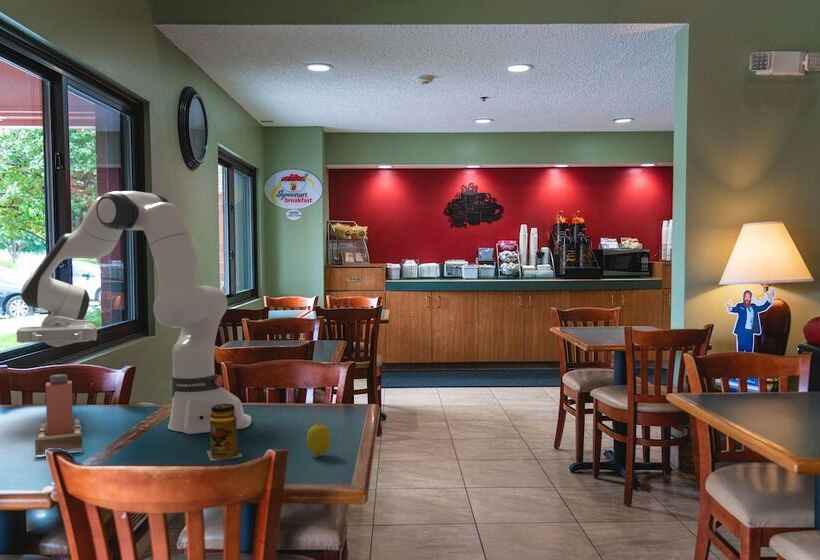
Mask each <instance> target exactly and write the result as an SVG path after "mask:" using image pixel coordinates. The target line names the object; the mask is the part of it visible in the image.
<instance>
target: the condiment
mask: <svg viewBox="0 0 820 560" xmlns="http://www.w3.org/2000/svg"><path fill="white" fill-rule="evenodd" d="M211 410H212V414H211V415H212V417H211V419H210V432H209V434H210V435H209V436H210V450H207V451H206V454H207V455H208V458H209V460H210V461H211V462H212V461H222V460H229V459H235V458H241V457H243V455H242V454H241V452H240V450H239V447H238V434H237V433H238V432H237V431H238V429H237V425H236V424H237V423H236V416H235V415H234V413H235V411H234V405H232V404H219V405H215V406H213V407H212V409H211Z"/></svg>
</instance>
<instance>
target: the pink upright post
mask: <svg viewBox="0 0 820 560" xmlns="http://www.w3.org/2000/svg"><path fill="white" fill-rule="evenodd" d="M49 381H50V382H45V399H46V400H45V406H46V412H45V413H46V424H47V436H50V435H58V434H67V433H73V426H74V416H73V414H74V412H73V381H72V380H68V374H64V373H63V374H62V373H61V374H59V373H58V374H53V375H50V376H49Z"/></svg>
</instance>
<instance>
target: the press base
mask: <svg viewBox="0 0 820 560" xmlns="http://www.w3.org/2000/svg"><path fill="white" fill-rule="evenodd" d="M80 420H81V419H80V418H74V425H73V433H67V434H58V435H50V436H47V421H43V422H42V421H41V422H40V427H39V428H40V429H39V431H38V432H39V433H38V437H35V439H34V445H35V447H34V449H35V456H36V455H43V454H44V455H45V450H46V449H48V448H61V449H64V450H66V451H82V452H83V432H82V425H81V424H80Z"/></svg>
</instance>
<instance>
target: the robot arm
mask: <svg viewBox="0 0 820 560" xmlns="http://www.w3.org/2000/svg"><path fill="white" fill-rule="evenodd" d="M124 230H126V231H127V230H128V231H131V230H132V231H143V233H144V234H145V237H146V239H147V240H146V241H147V242H148V246H149V248H150V252H151V254H152V258H153V261H154V264H155V265H154V266H155V268H156V271H157V276H158V294H157V296H156V298H155V300H153V301H154V302H153V306H152V311H153V316H154V318H155V319H156V321H157V322H158V323H159V324H160V325H162V326H163V327H168V328H174V329H181V330H180V333H179V337H178V339H177V341H176V342H175V343H174V345H173V346H172V353H171V354H172V356H171V357H172V359H171V360H172V376H171V378H170V379H171V380H170V392H171V393H170V394H171V398H172V400H171V401H172V402H171V403H172V404H171V410H170V417H169V422H168V426H167V429H168V430H171V431H174V432H181V433H184V434H187V435H193V434H202V433H210V419H211V417H212V415H211V414H212V410H211V409H212V407H213V406H215V405H219V404H232V405H234V411H235V413H234V415H235V416H236V423H237V424H236V425H237V430H242V429H246V428H248V427H249V426H250V425H251V424H252V416H250V415H249V414H246V413H244V409H243V404H242V401H241V400H240V398H239V397H237V396H236V395H234V394H233V393H232V392H230V391H228V390H227V389H225V388H224V387H223V382H224V381H223V377H222V376H221V375H220V374H219V375H218V374H217V373H215V345H216V338H217V334H218V330H219V326H220V322H221V320H222V318H223V316H224V315H225V313H226V312H227V309H228V304H229V303H228V298H227V296H226V294H225V293H224V292H223V290H222V289H220V288H218V287H214V286H211V285H207V284H205V285H204V284H202V285H196V279H195V277H196V276H195V270H196V267H197V266H198V256H197V253H196V250H195V248H194V244H193V242H192V239H191V236H190V233H189V231H188V230H189V229H188V228H187V225H186V223H185V222H184V219H183V217H182V215H181V212H179V210H178V208H177V206H175V204H173V203H171V202H170V201H169V199H168V198H166V197H165V196H164V195H161V194H158V193H155V192H143V191H136V190H122V191H119V190H117V191H116V190H114V191H110V192H106V193H104V194H102V195H101V196H98V197H97V198H96V199H95V200H94V201H93V202H92V204H91V205H90V207H89V208H88V210H87V212H86V214H85V216H84V217H83V219H82V221H81V223H80V226H78V228H77V229H75V230H74V231H73V232H70V233H64V234H63V235H61V236H60V237H59V239H58V240H57V241H56V242H55V243H54V244H53V246H52V247H51V249H50V250H49V252H48V253H47V255H46V256H45V257H44V259H43V260H42V261H41V263H40V264H39V266H38V267H37V268H36V269H35V271H34V272H33V273H32V275H30V276H29V278H28V279H27V280H26V281H25V282H24V284H23V286H22V288H21V292H20V297H21V299H22V301H23V303H24V304H25V305H26V306H27V307H31V308H36V309H40V310H43V311H46V312H47V311H48V312H50V314H48V315H47V316H45V318H44V319H43V320H42V322H41V326H24V327H19V328H18V329H17V330H16V333H15V334H16V342H17V343H20V344H22V343H23V344H24V343H25V344H26V343H45V344H47V345H48V346H51V347H57V348H59V347H63V346H68V345H71V344H75V343H76V344H77V343H85V342H90V341H96V340H97V338H98V334H97V333H98V329H97V326H96V325H95V324H94V323H92V322H91V320H90V319H85V317H86V315H87V312H88V310H89V305H90V296H89V293H88V291H87V290H86V288H84V287H80V286H77V285H74V284H71V283H68V282H65V281H62V280H58V279H55V278H53V277H51V276H52V274H53V273H54V272H55V271H56V269H57V267H58V266H59V265H60V264H61V262H63V261H65V260H68V259H89V260H92V259H93V260H94V259H101V258H103V257H106V256H108V255H109V254H111V253H112V252H113V251H114V249H115V248H116V246H117V244H118V243H119V240H120V238H121V236H122V233H123V231H124Z"/></svg>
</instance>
